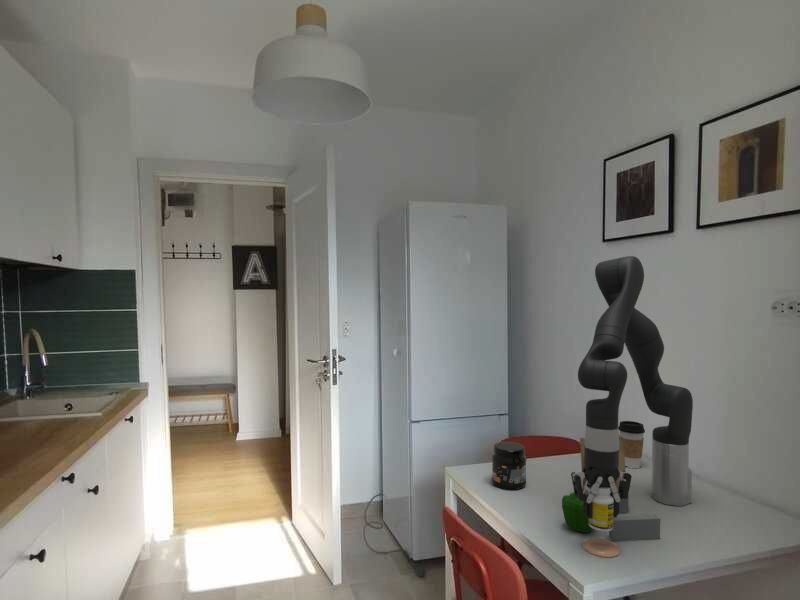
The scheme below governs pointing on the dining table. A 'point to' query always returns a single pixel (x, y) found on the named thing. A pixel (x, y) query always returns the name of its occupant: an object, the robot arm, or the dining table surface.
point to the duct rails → (634, 525)
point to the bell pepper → (575, 513)
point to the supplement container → (509, 465)
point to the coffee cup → (632, 442)
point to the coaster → (601, 547)
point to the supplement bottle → (602, 510)
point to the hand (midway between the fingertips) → (600, 516)
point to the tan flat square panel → (621, 459)
